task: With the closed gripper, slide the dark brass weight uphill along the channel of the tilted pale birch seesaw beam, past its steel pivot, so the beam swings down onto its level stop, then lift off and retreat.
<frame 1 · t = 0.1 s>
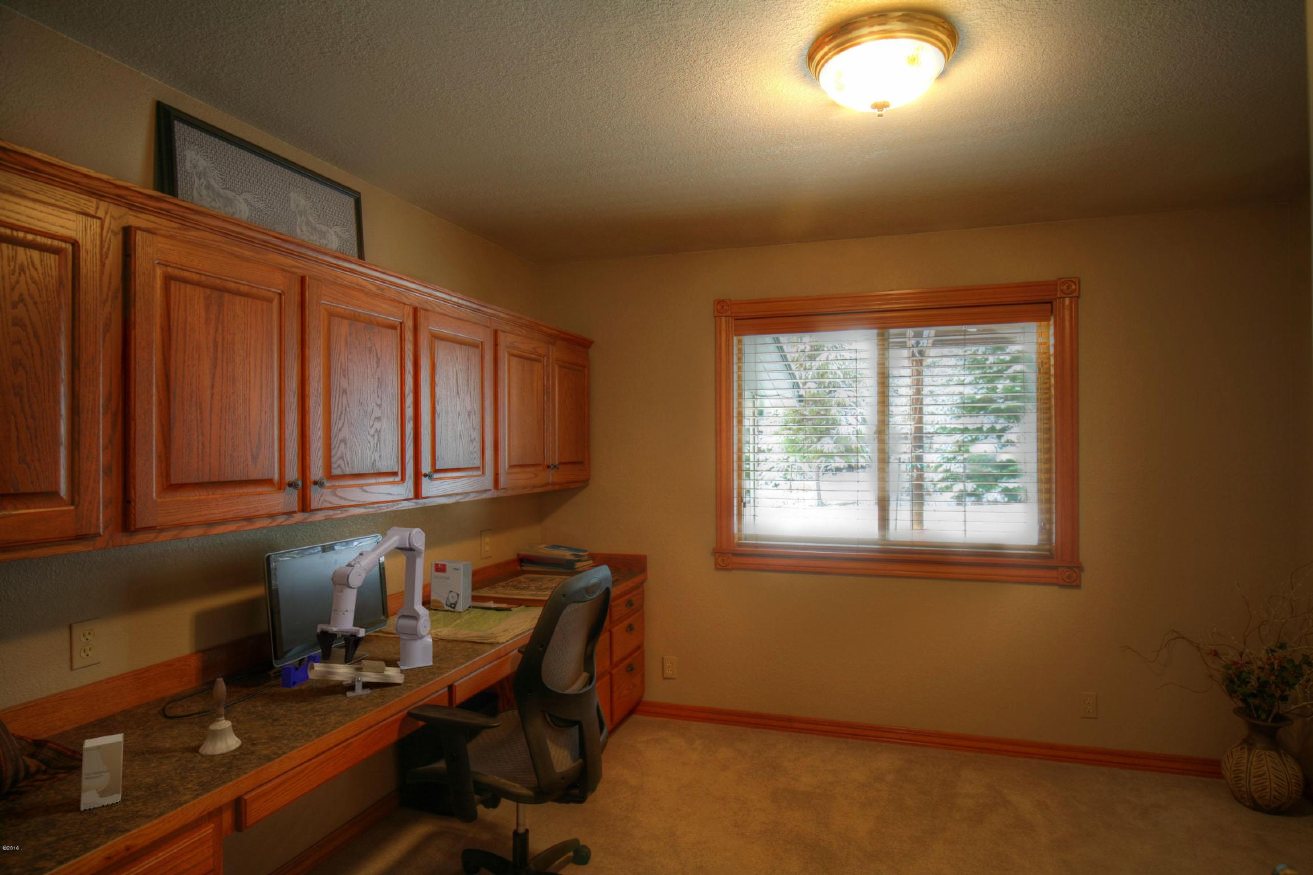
hand: (337, 661, 189), 11 cm above the table, tool pointing down, fingers open, 7 cm apart
balance beam: (357, 671, 198), point 5 cm above the table, hinge at -12.4°, touching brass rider
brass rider: (371, 673, 200), point 4 cm above the table, tilted 12°, touching balance beam
pivot stand: (356, 688, 198), on the table
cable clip: (298, 681, 205), on the table
skincare box: (102, 803, 136), on the table
hand bell: (220, 748, 160), on the table
hard drive box: (451, 609, 290), on the table
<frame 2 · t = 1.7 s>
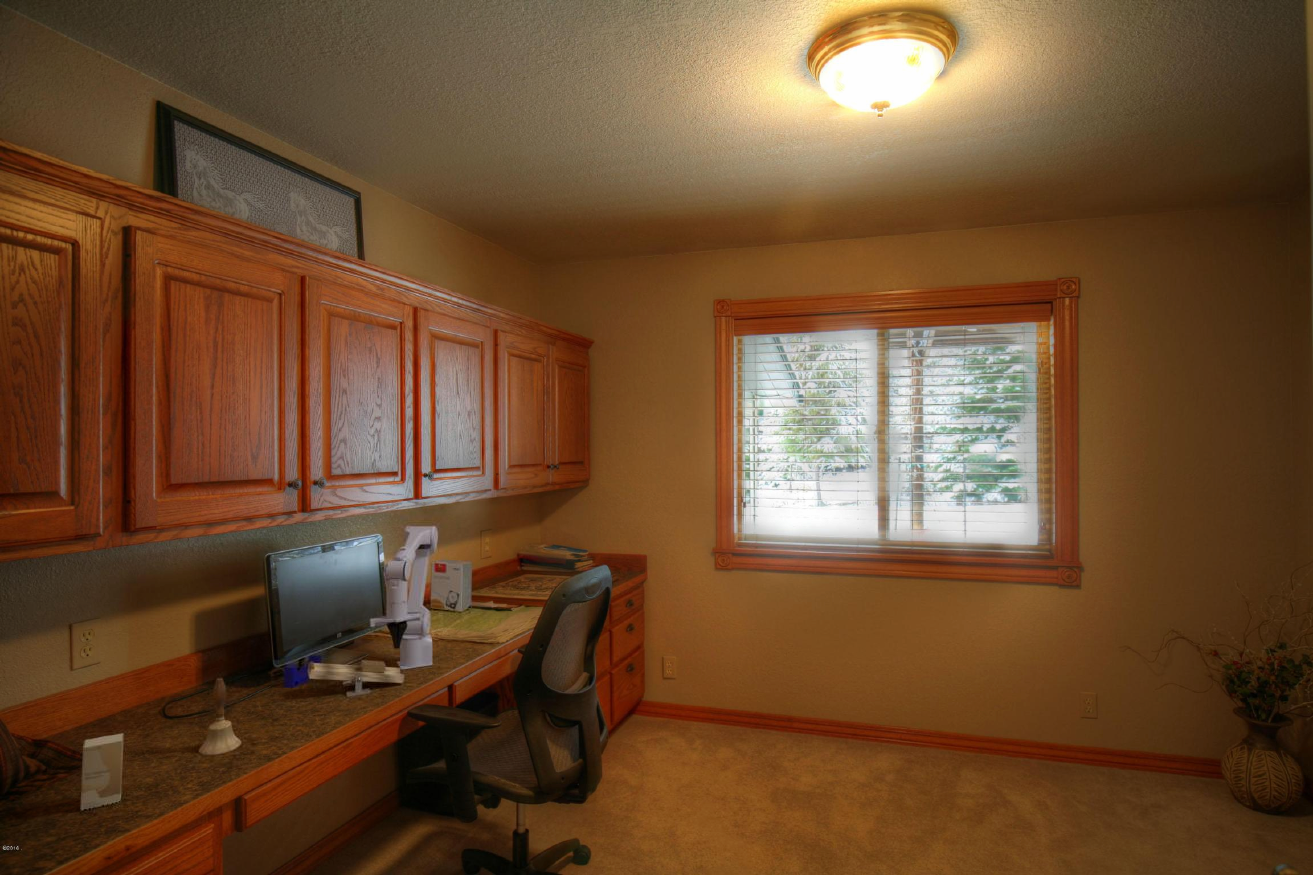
hand: (396, 647, 203), 10 cm above the table, tool pointing down, fingers closed
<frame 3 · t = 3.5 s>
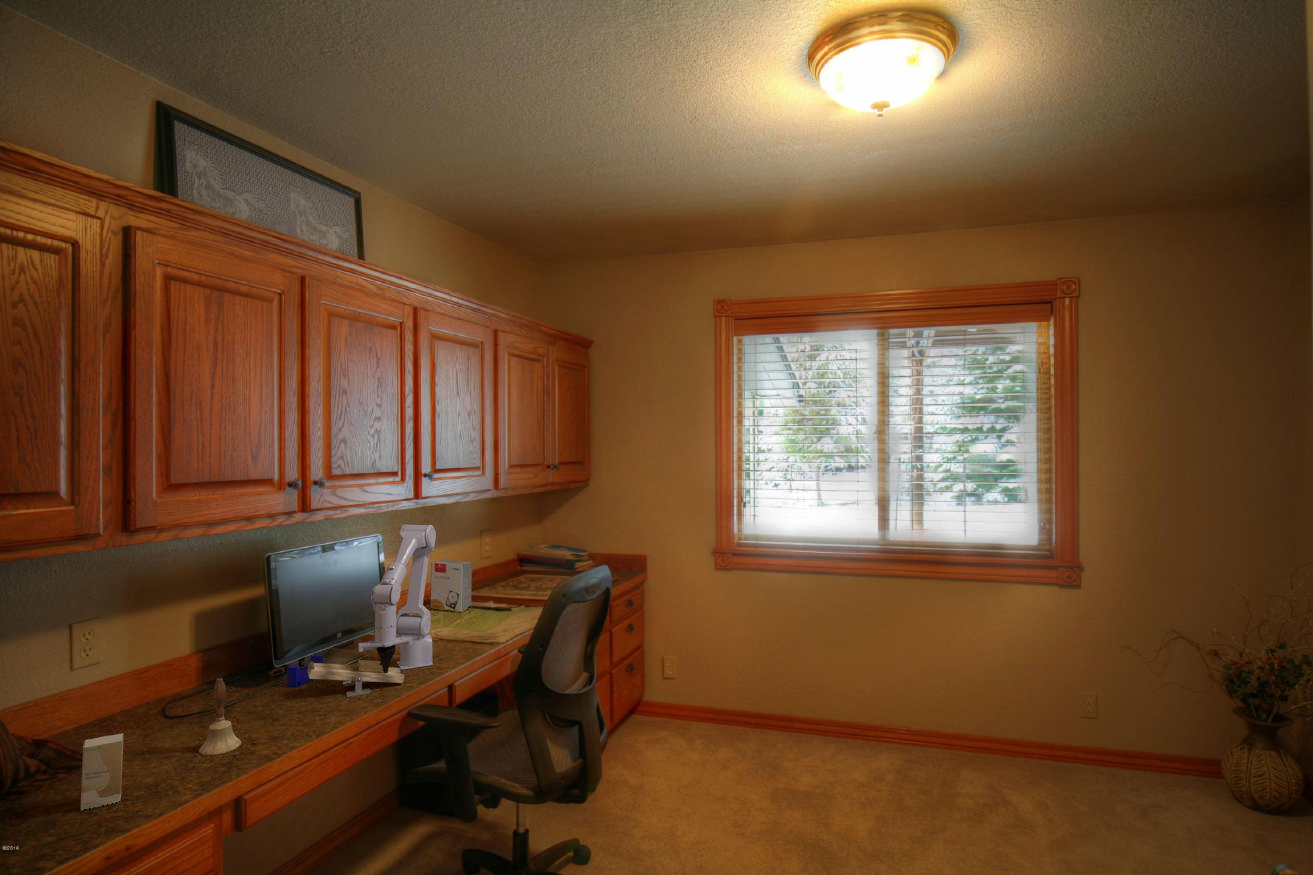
hand: (385, 672, 202), 3 cm above the table, tool pointing down, fingers closed
balance beam: (357, 671, 198), point 5 cm above the table, hinge at -12.4°
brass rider: (367, 673, 199), point 4 cm above the table, tilted 12°, touching gripper
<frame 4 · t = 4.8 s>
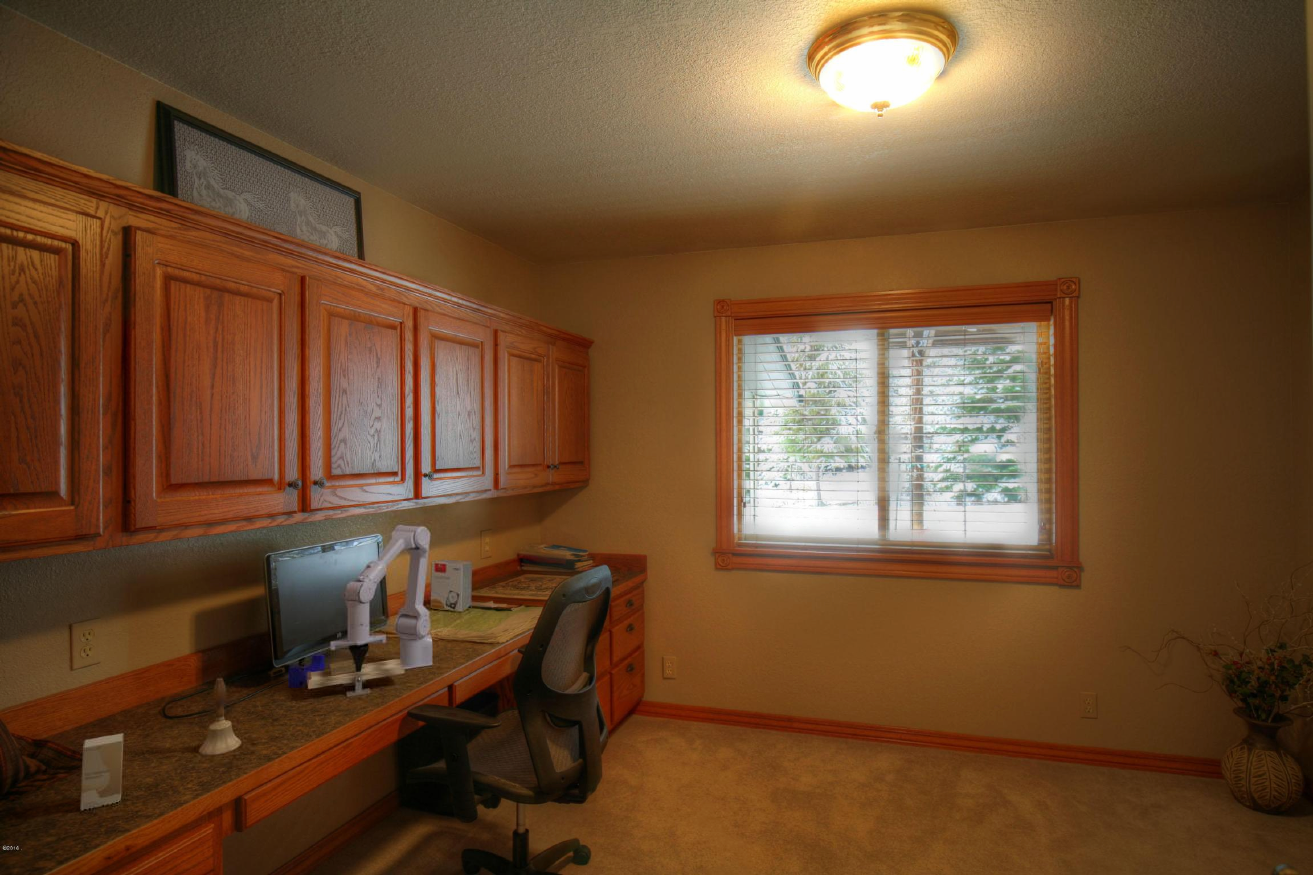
hand: (358, 670, 198), 5 cm above the table, tool pointing down, fingers closed
balance beam: (356, 671, 198), point 5 cm above the table, hinge at 0.5°
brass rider: (342, 674, 196), point 5 cm above the table, touching gripper
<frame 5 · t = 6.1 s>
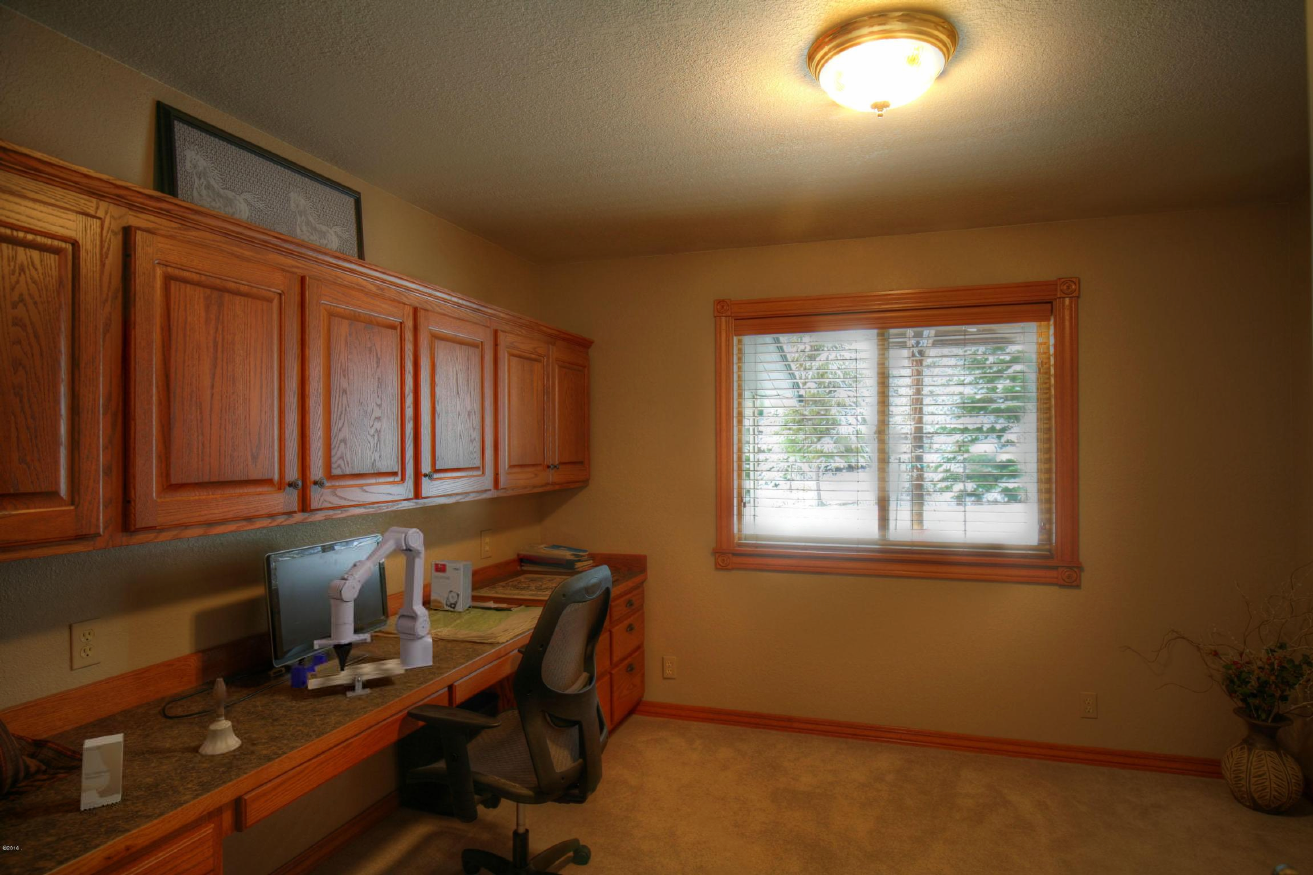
hand: (342, 670, 196), 6 cm above the table, tool pointing down, fingers closed
balance beam: (356, 671, 198), point 5 cm above the table, hinge at 0.9°
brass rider: (329, 674, 194), point 5 cm above the table, tilted 13°, touching gripper
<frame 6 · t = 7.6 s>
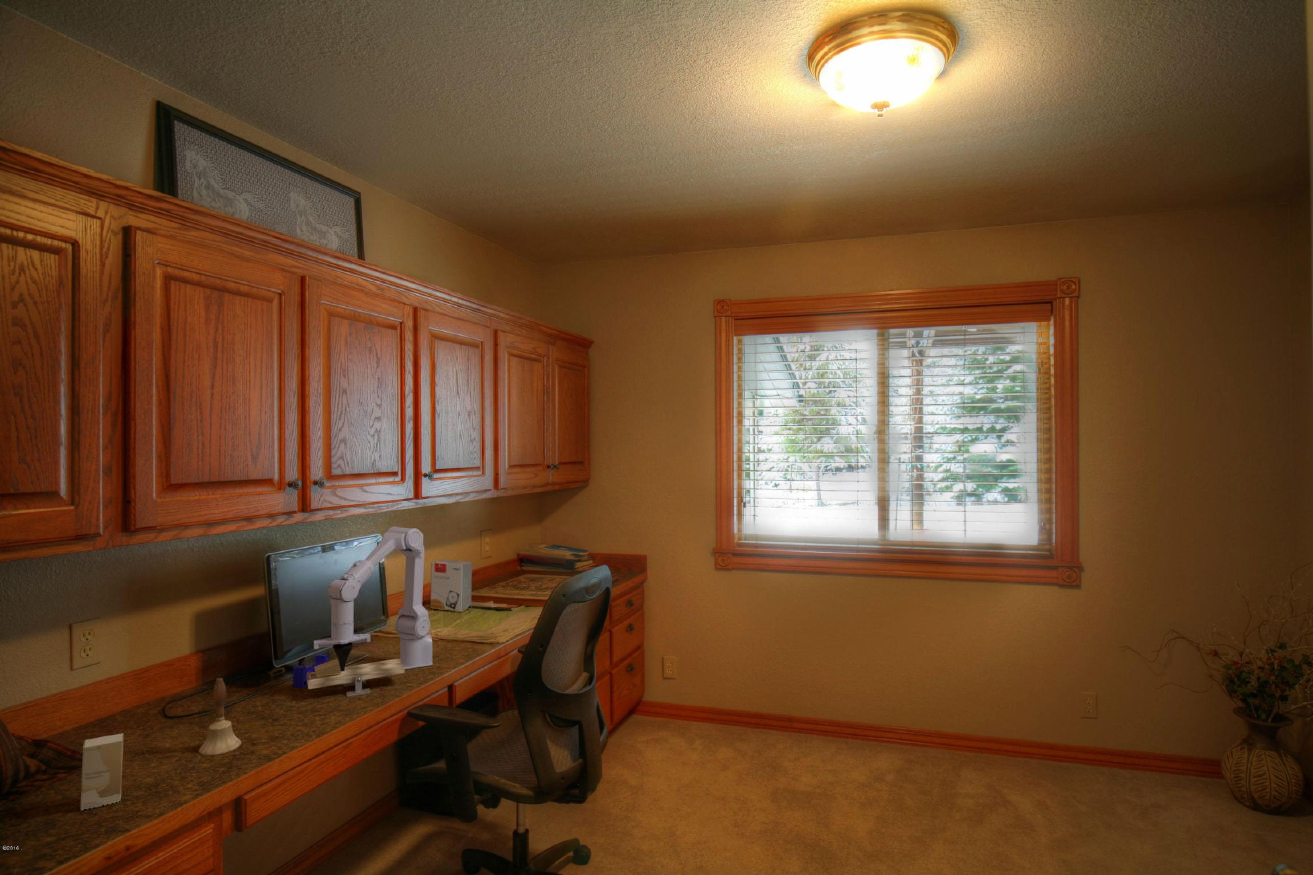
hand: (342, 670, 196), 6 cm above the table, tool pointing down, fingers closed
balance beam: (356, 671, 198), point 5 cm above the table, hinge at 0.9°, touching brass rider
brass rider: (329, 674, 194), point 5 cm above the table, tilted 13°, touching balance beam, gripper
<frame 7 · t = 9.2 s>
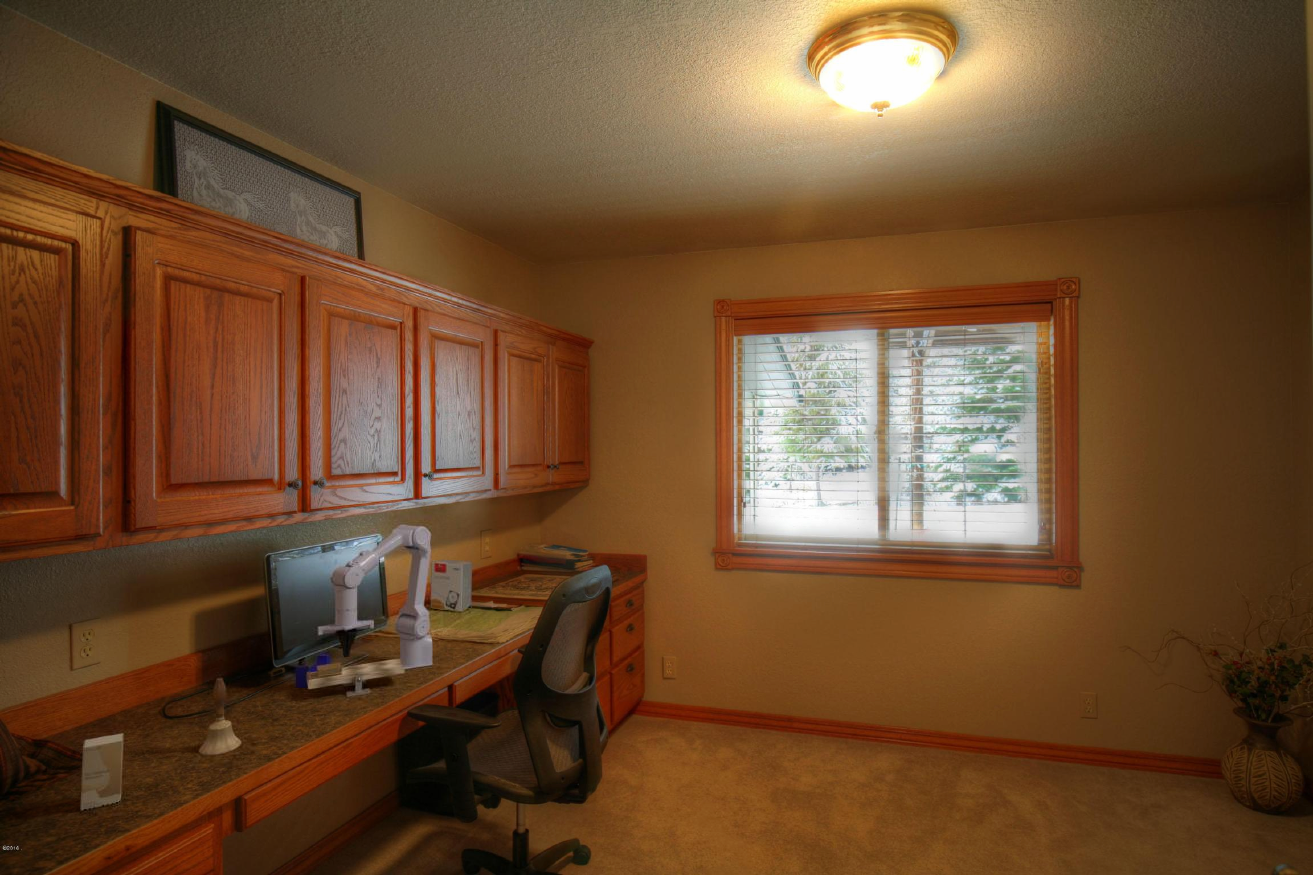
hand: (346, 656, 198), 9 cm above the table, tool pointing down, fingers closed
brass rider: (329, 677, 194), point 5 cm above the table, touching balance beam
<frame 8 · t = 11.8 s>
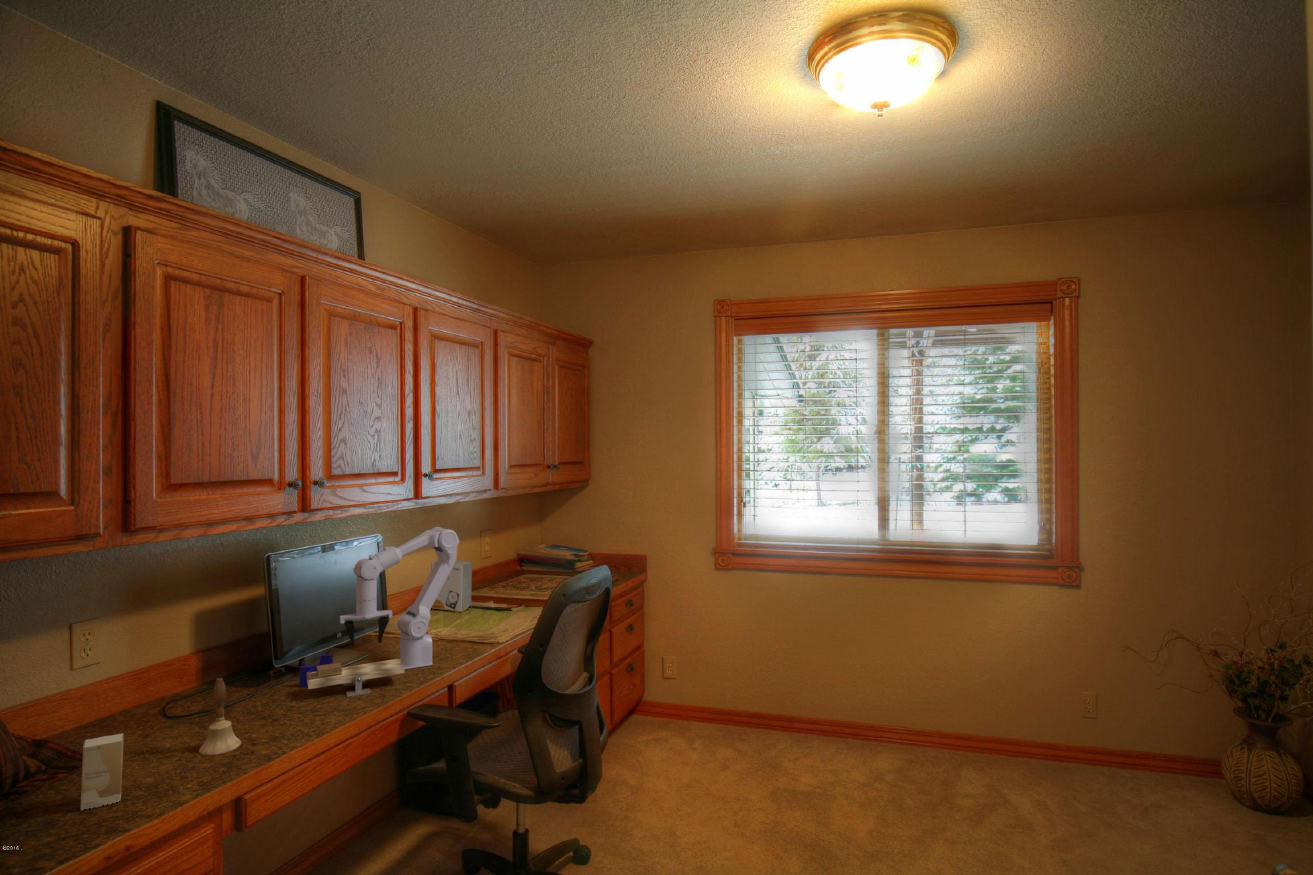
hand: (366, 643, 209), 9 cm above the table, tool pointing down, fingers open, 7 cm apart
at the end: balance beam at +1° (first picture: -12°); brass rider inside the target area on the balance beam (0.0 cm from its centre), point 0.5 cm above the balance beam's base; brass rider tilted 1° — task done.
